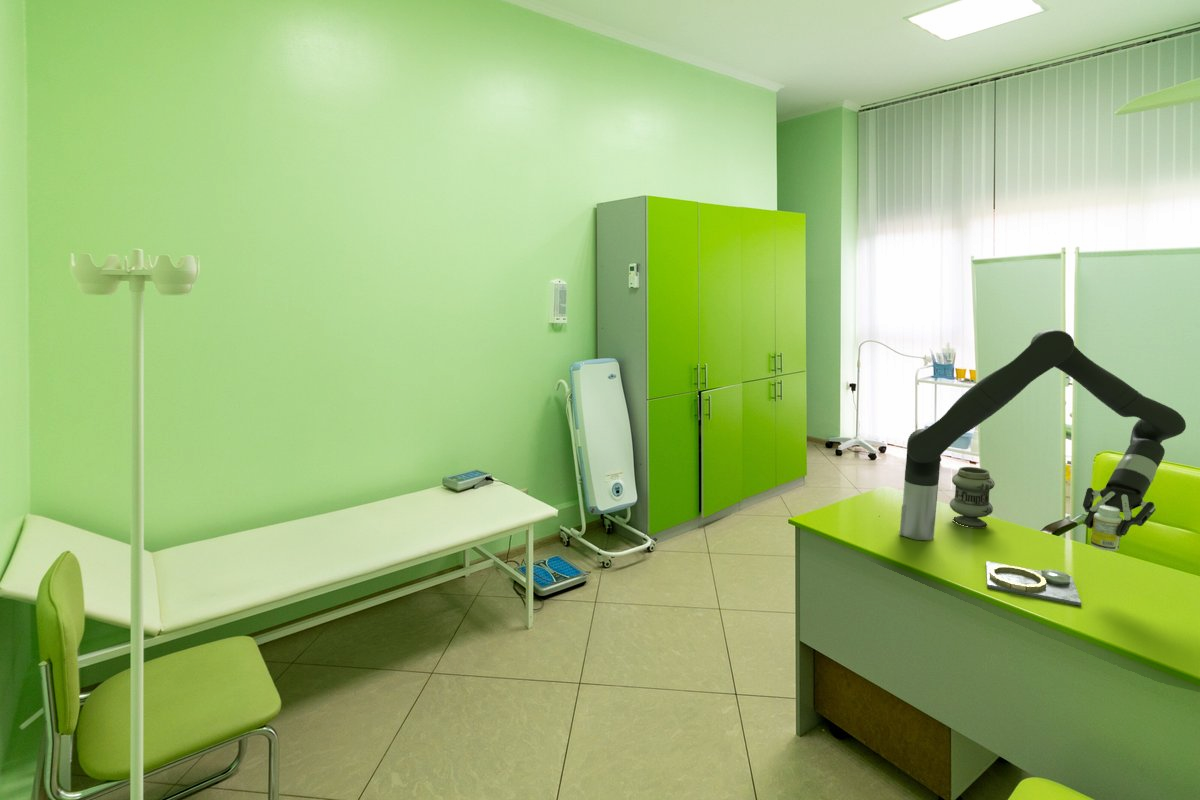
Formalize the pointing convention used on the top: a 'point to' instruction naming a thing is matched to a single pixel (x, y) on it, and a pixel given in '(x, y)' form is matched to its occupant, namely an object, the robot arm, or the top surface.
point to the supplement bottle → (1106, 528)
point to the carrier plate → (1032, 582)
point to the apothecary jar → (972, 496)
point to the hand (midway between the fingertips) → (1103, 530)
